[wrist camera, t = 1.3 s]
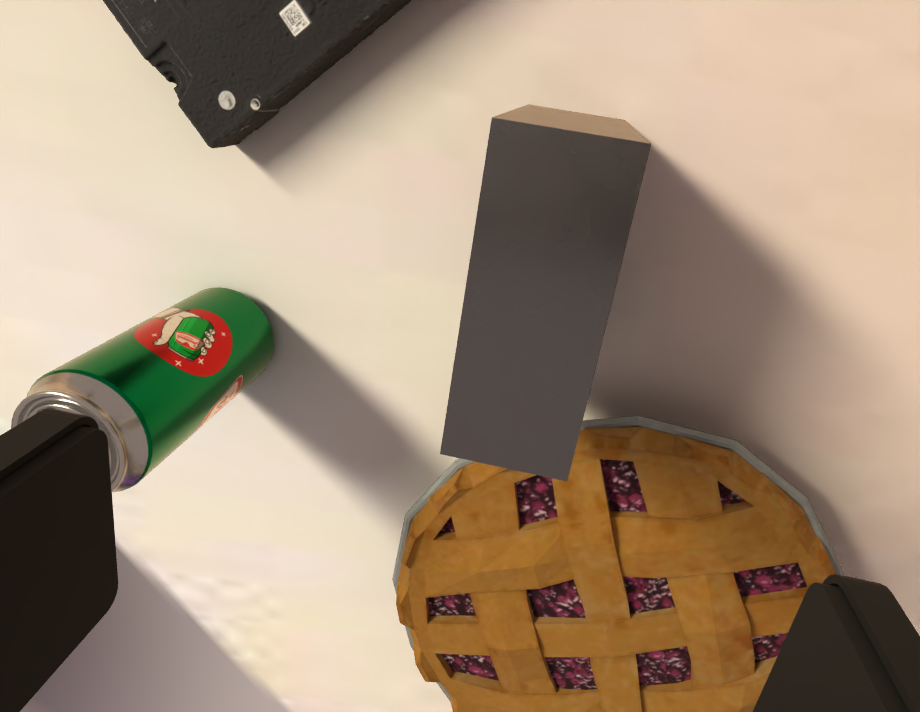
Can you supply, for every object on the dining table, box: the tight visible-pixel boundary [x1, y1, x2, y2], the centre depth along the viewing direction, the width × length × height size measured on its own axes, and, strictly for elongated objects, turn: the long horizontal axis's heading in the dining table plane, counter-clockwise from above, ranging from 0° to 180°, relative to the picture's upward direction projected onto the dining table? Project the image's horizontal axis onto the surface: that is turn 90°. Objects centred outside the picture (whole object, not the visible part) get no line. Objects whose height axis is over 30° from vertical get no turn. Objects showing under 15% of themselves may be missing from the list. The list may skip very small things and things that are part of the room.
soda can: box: [11, 288, 274, 492], centre depth 29 cm, size 5×5×12 cm
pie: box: [392, 416, 844, 712], centre depth 34 cm, size 22×22×5 cm
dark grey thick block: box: [440, 105, 651, 482], centre depth 24 cm, size 4×10×12 cm, turn 172°
